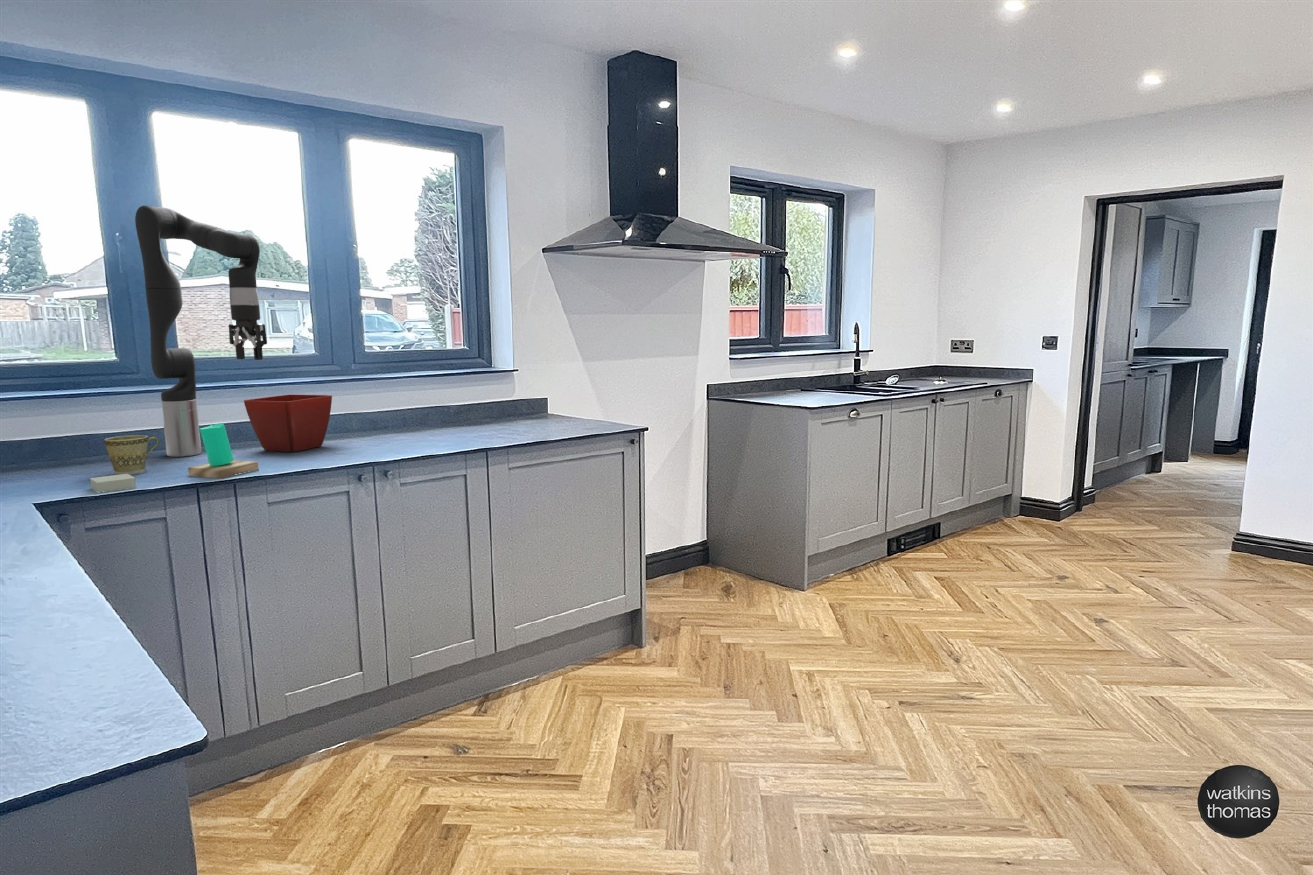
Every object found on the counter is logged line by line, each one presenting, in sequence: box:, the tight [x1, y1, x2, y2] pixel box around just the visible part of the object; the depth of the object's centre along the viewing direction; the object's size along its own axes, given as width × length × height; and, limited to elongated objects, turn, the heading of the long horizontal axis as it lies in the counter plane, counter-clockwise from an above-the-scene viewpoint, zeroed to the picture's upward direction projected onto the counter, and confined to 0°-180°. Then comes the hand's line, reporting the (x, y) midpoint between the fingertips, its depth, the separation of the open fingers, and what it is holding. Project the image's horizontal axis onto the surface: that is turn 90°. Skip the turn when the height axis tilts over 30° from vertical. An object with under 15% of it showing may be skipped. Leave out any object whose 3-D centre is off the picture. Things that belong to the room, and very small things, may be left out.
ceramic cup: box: [103, 434, 159, 476], centre depth 216 cm, size 13×10×10 cm
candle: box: [199, 420, 235, 466], centre depth 214 cm, size 6×6×12 cm
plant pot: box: [243, 393, 333, 453], centre depth 253 cm, size 19×19×17 cm
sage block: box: [89, 474, 137, 493], centre depth 197 cm, size 8×8×3 cm
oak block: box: [187, 459, 259, 479], centre depth 215 cm, size 12×12×3 cm
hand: (249, 359), depth 230 cm, fingers open, 8 cm apart
